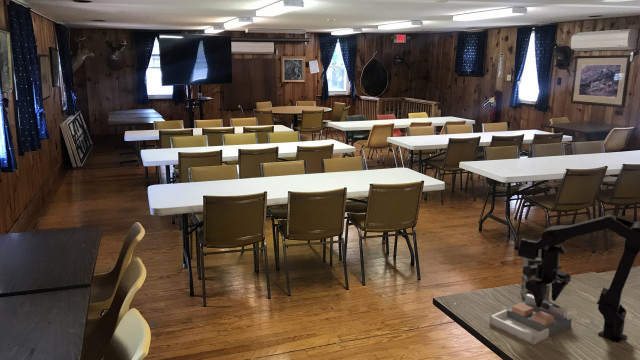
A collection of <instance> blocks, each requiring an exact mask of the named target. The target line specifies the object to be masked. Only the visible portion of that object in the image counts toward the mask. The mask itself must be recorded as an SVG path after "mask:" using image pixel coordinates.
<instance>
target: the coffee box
mask: <svg viewBox="0 0 640 360" xmlns="http://www.w3.org/2000/svg"><path fill="white" fill-rule="evenodd" d="M540 263H541V255H540V257H539V258H536V260H533V259H527V258H523V263H522V264H523V265H522V268H523V267H524V266H532V265H538V264H540ZM521 273H522V276H521V284H520V293H521V296H522V297H523V298H524V299H525V296H526V295H527V294H531V295H533V293H532V292H531V291H529V290H528V289H526V288H525V282H527V281H529V280H532V279H535V280H538V281H541V280H540V279H537V278H535V276H529V277H526V275H524V274H523V272H521ZM546 292H547V293H546V295H545V298H544V300H547V301H549V300H550V292H551V284H549V285H547V290H546Z"/></svg>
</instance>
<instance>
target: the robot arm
mask: <svg viewBox="0 0 640 360" xmlns="http://www.w3.org/2000/svg"><path fill="white" fill-rule="evenodd" d="M604 230H609V231H612V232H613V233H615V234H616V235H618V236H619V237H621V238H623V239H625V241H624V248H623V253H622V255H621V258H620V260H619V264H618V266H617V268H616V270H615V273H614V275H613V278H612V281H611V284H610V285H609V286H608V288H606V287H602V289H601V292H600V296H599V297H598V299H597V302H596V305H598V306H597V310H598V311H599V313H600V314H601V316H602V317H603V320H604V321H603V330H601V331H599V332H598V333H597V335H599V336H600V337H603V338H605V339H607V340H610V341H612V342H614V343H620V342H622V341H624V340H625V339H628V335H627V334H624V328H625V323H626V322H625V319H626V316H627V312H628V311H627V310H626V309H625V308H624V306H623V305H622V304H621V302H622V295H623V290H624V287H625V284H626V282H627V280H628V277H629V275H630V273H631V270H632V267H633V265H634V263H635V260H636V257H637V256H638V255H639V253H640V223H639V222H636V223H635V222H633V221H631V220H628V219H625V218H621V217H618V216H616V215H614V214H611V213H609V214H606V215H604V216H600V217H596V218H592V219H589V220H586V221H581V222H577V223H573V224H570V225H567V224H565V225H562V224H558V225H551V226H548V227H547V228H546V229H545V230H544V231H543V232H542V235H541V238H539V239H538V240H534V239H533V240H532V239H528V238H521V239H520V243H519V246H518V248H517V257H519V258H522V259H524V258H527V259H533V260H536V258H539V257H540V256H541V263H540V264H538V265H532V266H524V267H523V266H522V272H521V273H523V274H524V275H526V277H529V276H535V278H537V279H540V280H541V281H538V280H535V279H532V280H529V281H527V282H525V288H526V289H528V290H529V291H531V292H532V293H533V296H534V299H535V303H536V306H537V307H539V308H540V306H541V304H542V302H543V300H544V298H545V295H546V293H547V292H546V290H547V285H549V284H550V286H551V301H553V302H556V300H557V299H558V297H559V296H560V295H561V293H562V292H563V291H564V289H565V288H566V286H568V284H569V283H570V282H571V280H572V279H571V275H570V274H569V273H567V272H564V271H563V270H562V266H561V265H559V264H560V254H563V255H564V254H566V252H567V248H565V247H564V246H563V244H562V243H564V242H566V241H567V240H570V239H572V238H576V237H579V236H584V235H588V234H592V233H596V232H600V231H601V232H602V231H604ZM559 244H560V245H559ZM561 270H562V271H561Z"/></svg>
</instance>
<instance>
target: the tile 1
mask: <svg viewBox="0 0 640 360" xmlns="http://www.w3.org/2000/svg"><path fill="white" fill-rule="evenodd" d="M511 307H512V312H515V313H517V314H519V315H521V316H524V317H525V316H527V315H529V314H532V313H533V307H530V306H528V305H526V304H523V302H519V303H516V304H514V305H512V306H511Z"/></svg>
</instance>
